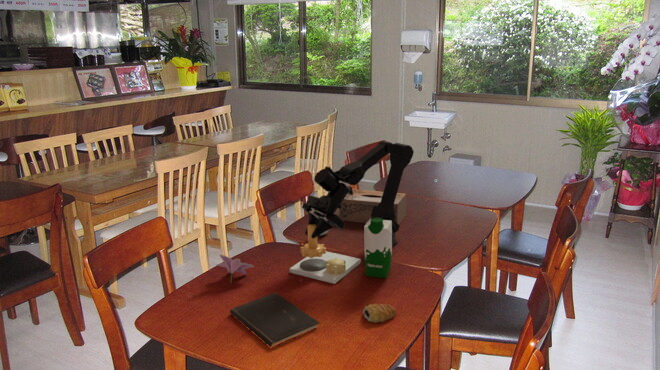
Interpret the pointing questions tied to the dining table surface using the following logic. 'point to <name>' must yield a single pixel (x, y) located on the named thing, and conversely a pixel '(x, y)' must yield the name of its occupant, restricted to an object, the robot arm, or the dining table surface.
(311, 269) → the carrier plate
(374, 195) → the tissue box cover
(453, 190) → the dining table surface
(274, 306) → the hardcover book
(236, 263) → the lily
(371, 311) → the pastry
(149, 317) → the dining table surface
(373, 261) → the milk carton
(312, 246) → the planet gear
